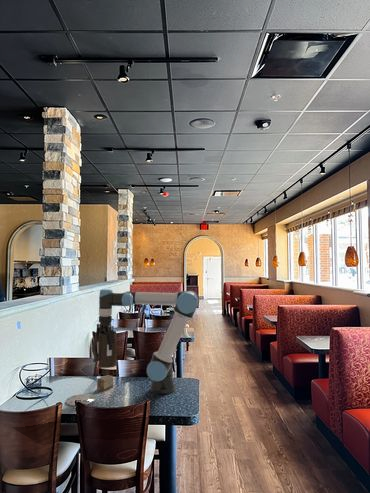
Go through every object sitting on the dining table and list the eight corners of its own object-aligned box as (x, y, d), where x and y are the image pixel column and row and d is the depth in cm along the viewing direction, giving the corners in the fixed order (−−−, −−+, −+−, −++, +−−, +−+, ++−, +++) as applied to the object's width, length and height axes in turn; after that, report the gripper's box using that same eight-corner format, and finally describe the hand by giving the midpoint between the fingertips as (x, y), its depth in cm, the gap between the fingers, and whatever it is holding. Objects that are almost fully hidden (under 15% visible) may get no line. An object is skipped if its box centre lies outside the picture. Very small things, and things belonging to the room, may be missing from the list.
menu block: (113, 387, 238) (113, 376, 238) (103, 391, 230) (103, 379, 230) (107, 386, 240) (107, 375, 241) (97, 390, 233) (97, 378, 233)
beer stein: (110, 361, 233) (109, 329, 233) (121, 365, 226) (120, 331, 226) (88, 368, 222) (87, 334, 222) (100, 372, 215) (98, 336, 215)
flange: (101, 400, 215) (101, 398, 215) (76, 408, 203) (76, 406, 203) (85, 394, 226) (85, 392, 226) (60, 401, 213) (60, 399, 214)
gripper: (121, 317, 220) (120, 356, 219) (100, 313, 235) (99, 350, 234) (111, 318, 215) (110, 358, 214) (89, 314, 230) (88, 352, 228)
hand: (104, 354), depth 224 cm, fingers closed on beer stein, 9 cm apart
